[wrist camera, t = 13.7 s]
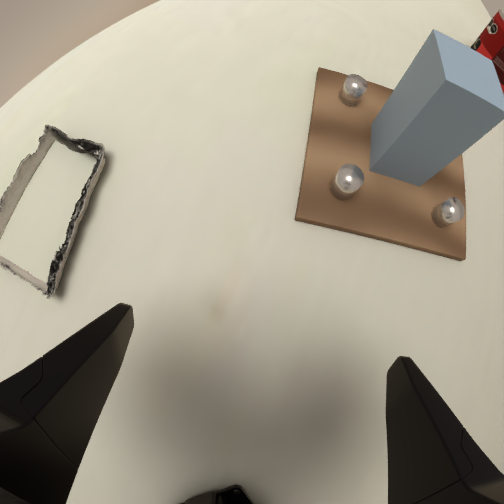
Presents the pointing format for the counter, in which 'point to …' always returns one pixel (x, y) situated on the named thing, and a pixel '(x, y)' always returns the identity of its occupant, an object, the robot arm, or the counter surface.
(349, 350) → the counter surface
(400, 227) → the peg stand
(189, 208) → the counter surface
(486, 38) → the canned food
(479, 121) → the slate blue block
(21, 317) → the counter surface
